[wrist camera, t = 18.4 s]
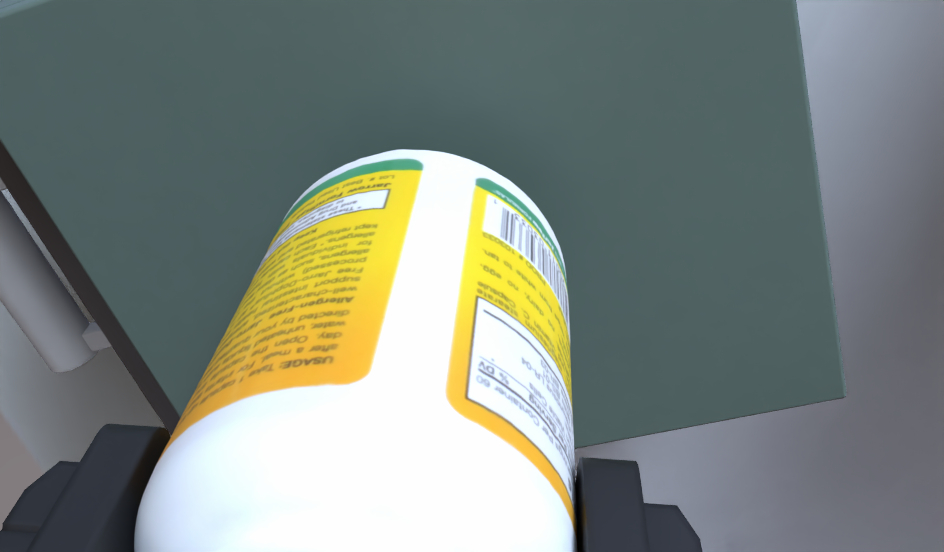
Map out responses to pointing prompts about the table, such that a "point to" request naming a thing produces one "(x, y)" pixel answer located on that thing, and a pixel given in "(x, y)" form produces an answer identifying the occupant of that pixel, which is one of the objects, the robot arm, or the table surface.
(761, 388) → the cabinet
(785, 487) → the table surface
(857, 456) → the table surface
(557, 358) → the supplement bottle
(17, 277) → the drawer
